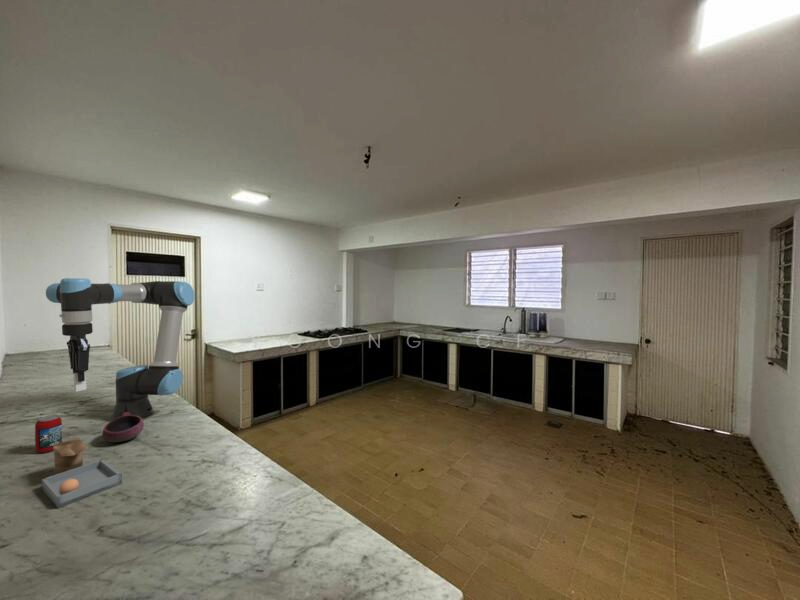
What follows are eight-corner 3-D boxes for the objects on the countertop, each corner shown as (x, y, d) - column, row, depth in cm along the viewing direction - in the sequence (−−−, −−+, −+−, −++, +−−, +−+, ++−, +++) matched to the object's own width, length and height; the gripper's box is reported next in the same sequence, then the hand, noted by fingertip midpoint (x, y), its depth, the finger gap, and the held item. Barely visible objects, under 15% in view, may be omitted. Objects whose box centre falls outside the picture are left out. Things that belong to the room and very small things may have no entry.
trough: (79, 465, 112) (79, 437, 111) (89, 476, 106) (88, 446, 105) (52, 474, 106) (51, 444, 106) (60, 485, 100) (60, 454, 100)
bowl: (150, 437, 134) (150, 417, 134) (111, 450, 122) (111, 429, 122) (130, 428, 141) (130, 410, 141) (91, 440, 130) (91, 420, 130)
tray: (102, 468, 110) (102, 459, 110) (121, 483, 102) (121, 473, 102) (41, 489, 99) (41, 479, 99) (58, 508, 90) (58, 497, 90)
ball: (71, 477, 94) (83, 486, 96) (71, 474, 97) (82, 482, 98) (55, 490, 92) (67, 499, 93) (55, 487, 94) (66, 495, 96)
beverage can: (44, 455, 118) (44, 422, 118) (30, 453, 120) (29, 420, 119) (67, 446, 125) (66, 415, 125) (53, 444, 126) (52, 413, 126)
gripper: (55, 322, 114) (58, 389, 115) (69, 325, 107) (72, 396, 109) (84, 320, 120) (87, 384, 122) (99, 323, 114) (101, 390, 115)
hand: (80, 390), depth 115 cm, fingers closed
